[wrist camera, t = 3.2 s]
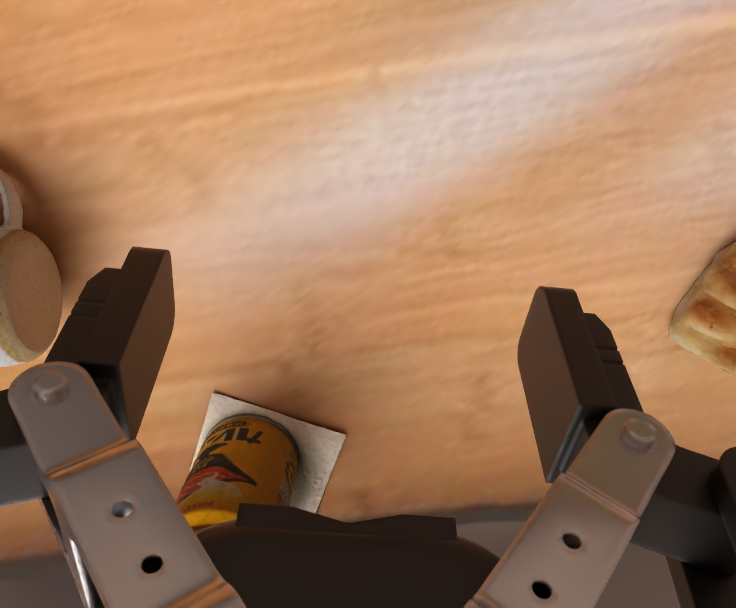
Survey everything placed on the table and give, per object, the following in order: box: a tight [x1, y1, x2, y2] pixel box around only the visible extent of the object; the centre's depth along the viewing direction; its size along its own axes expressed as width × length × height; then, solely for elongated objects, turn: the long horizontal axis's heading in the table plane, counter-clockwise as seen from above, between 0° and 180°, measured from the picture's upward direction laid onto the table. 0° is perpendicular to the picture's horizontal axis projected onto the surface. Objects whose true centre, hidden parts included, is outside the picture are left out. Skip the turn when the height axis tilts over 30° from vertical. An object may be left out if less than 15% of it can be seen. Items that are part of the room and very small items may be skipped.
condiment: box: [176, 393, 346, 533], centre depth 38 cm, size 7×8×12 cm
